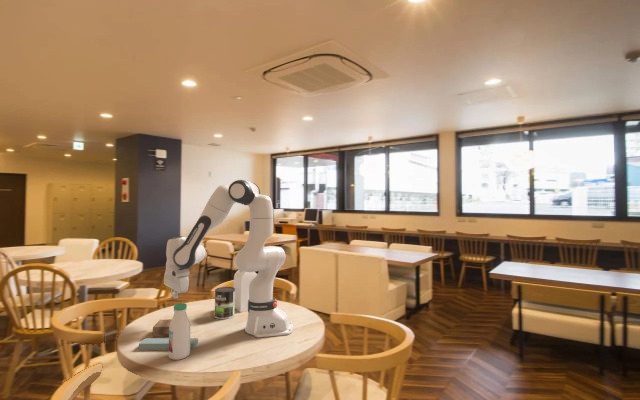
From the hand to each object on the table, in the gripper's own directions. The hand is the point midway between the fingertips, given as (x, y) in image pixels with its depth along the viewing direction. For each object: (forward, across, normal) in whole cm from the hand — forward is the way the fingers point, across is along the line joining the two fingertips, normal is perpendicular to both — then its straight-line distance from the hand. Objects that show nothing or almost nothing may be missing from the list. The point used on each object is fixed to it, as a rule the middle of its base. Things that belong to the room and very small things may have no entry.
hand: (175, 297), depth 157 cm
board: (+13, +23, -12) cm, 29 cm away
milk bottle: (+12, +33, -12) cm, 37 cm away
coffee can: (+13, +6, +24) cm, 28 cm away
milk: (+13, +3, +39) cm, 41 cm away
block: (+13, +8, -7) cm, 17 cm away
